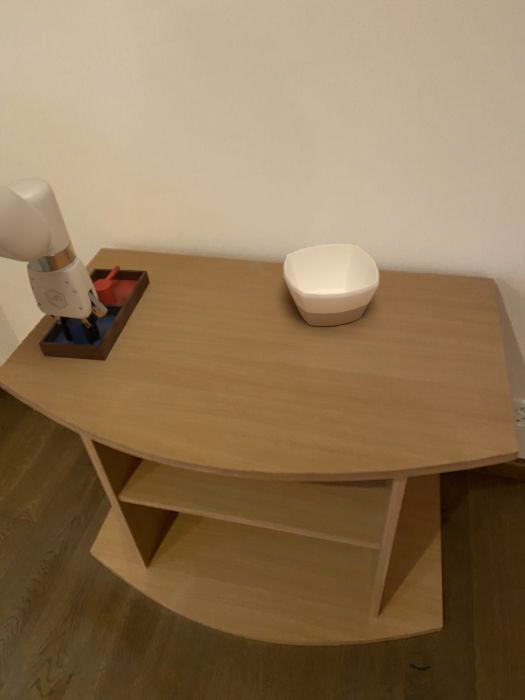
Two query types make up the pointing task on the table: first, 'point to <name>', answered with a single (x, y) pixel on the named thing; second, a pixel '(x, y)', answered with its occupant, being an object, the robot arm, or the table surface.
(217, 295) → the table surface
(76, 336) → the blue mallet
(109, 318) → the tray
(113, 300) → the red round-headed part
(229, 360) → the table surface
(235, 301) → the table surface
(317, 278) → the bowl
